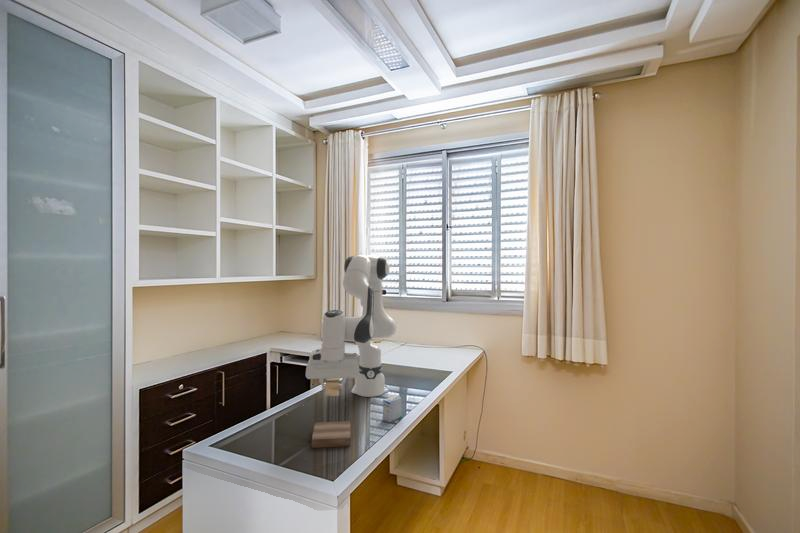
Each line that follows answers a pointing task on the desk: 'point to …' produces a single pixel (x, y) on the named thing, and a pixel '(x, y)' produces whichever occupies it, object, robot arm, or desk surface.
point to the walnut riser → (331, 434)
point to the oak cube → (332, 387)
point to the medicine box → (392, 408)
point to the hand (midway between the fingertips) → (332, 389)
